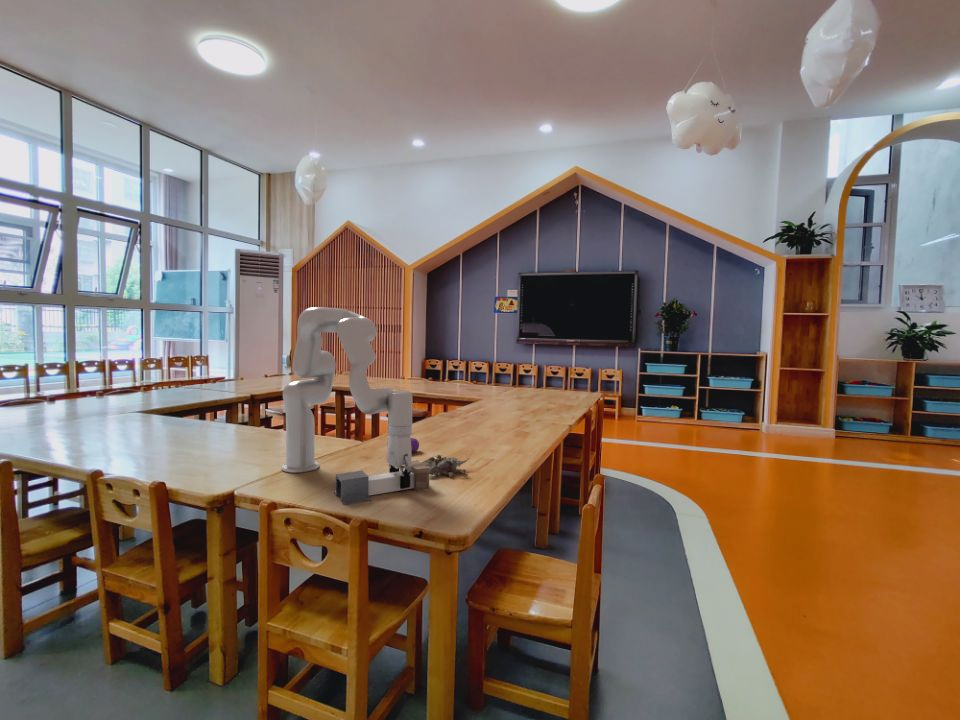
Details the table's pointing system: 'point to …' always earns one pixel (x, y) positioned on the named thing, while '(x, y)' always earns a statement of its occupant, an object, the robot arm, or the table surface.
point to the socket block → (420, 475)
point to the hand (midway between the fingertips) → (399, 483)
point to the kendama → (414, 445)
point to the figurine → (444, 465)
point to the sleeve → (352, 487)
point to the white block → (387, 483)
